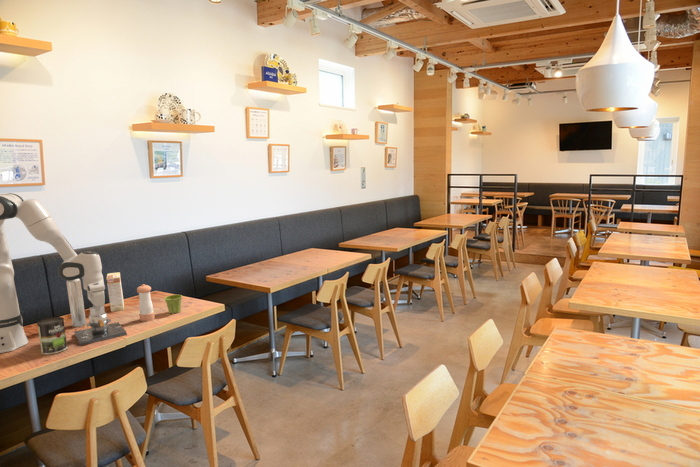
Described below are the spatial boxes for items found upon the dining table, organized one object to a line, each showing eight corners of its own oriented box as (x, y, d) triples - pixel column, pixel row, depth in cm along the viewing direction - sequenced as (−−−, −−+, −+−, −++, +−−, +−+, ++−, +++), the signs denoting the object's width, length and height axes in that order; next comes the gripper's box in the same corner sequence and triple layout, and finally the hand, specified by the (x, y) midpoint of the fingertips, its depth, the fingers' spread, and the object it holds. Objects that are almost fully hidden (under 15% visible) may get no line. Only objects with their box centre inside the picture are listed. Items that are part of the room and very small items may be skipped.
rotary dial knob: (85, 324, 234) (83, 307, 232) (109, 319, 240) (106, 302, 238) (90, 332, 223) (87, 314, 221) (114, 326, 229) (112, 309, 227)
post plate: (80, 345, 221) (78, 335, 220) (74, 334, 236) (73, 324, 235) (126, 334, 232) (125, 324, 231) (118, 324, 247) (117, 315, 247)
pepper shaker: (154, 316, 259) (150, 281, 256) (154, 320, 253) (150, 285, 250) (140, 318, 257) (136, 283, 254) (139, 322, 250) (135, 286, 247)
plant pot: (178, 314, 260) (176, 299, 258) (162, 314, 261) (160, 299, 260) (186, 309, 269) (185, 294, 267) (171, 309, 270) (170, 294, 269)
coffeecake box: (111, 305, 284) (107, 273, 281) (124, 303, 287) (120, 271, 284) (110, 312, 270) (106, 278, 267) (124, 309, 273) (120, 276, 270)
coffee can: (72, 347, 218) (68, 318, 216) (49, 356, 209) (44, 325, 207) (59, 344, 223) (55, 315, 221) (36, 352, 214) (31, 322, 212)
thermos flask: (82, 327, 247) (75, 280, 243) (69, 327, 247) (63, 280, 243) (89, 322, 253) (83, 276, 249) (77, 323, 253) (70, 277, 249)
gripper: (82, 281, 237) (85, 308, 239) (90, 289, 221) (94, 318, 223) (96, 279, 240) (99, 305, 243) (105, 286, 225) (109, 314, 227)
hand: (97, 311), depth 233 cm, fingers closed on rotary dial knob, 3 cm apart
